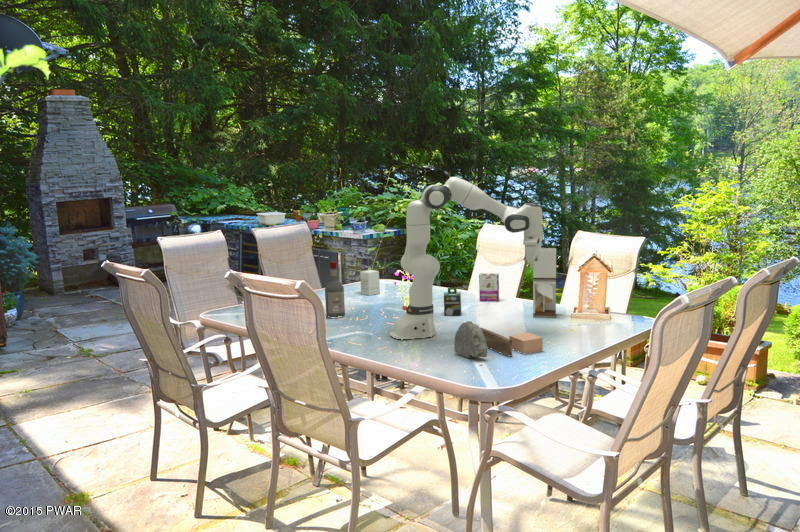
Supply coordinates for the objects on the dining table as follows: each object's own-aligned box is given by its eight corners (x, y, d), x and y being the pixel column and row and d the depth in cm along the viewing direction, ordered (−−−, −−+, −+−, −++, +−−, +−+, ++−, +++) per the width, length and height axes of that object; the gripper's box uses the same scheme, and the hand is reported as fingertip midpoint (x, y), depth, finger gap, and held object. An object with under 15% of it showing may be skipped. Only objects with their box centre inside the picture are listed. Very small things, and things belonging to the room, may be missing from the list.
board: (507, 356, 261) (507, 340, 260) (477, 343, 282) (477, 328, 281) (511, 356, 262) (511, 339, 261) (481, 342, 283) (481, 327, 282)
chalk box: (461, 312, 345) (460, 285, 342) (461, 315, 336) (460, 288, 333) (444, 312, 346) (443, 285, 343) (443, 316, 337) (443, 288, 334)
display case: (533, 317, 327) (533, 251, 322) (533, 313, 337) (533, 248, 332) (555, 318, 324) (556, 251, 319) (555, 313, 334) (556, 248, 329)
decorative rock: (452, 353, 268) (452, 319, 266) (465, 350, 271) (464, 317, 269) (477, 362, 254) (476, 326, 252) (489, 359, 258) (489, 324, 255)
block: (523, 354, 264) (523, 341, 263) (509, 349, 272) (509, 335, 272) (542, 351, 268) (542, 337, 267) (528, 345, 277) (528, 332, 276)
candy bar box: (499, 300, 372) (499, 273, 369) (498, 302, 367) (498, 274, 365) (480, 299, 375) (480, 272, 373) (479, 301, 370) (478, 274, 368)
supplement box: (371, 292, 409) (371, 269, 407) (380, 293, 402) (379, 270, 400) (360, 294, 404) (359, 271, 401) (368, 296, 397) (368, 272, 394)
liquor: (346, 317, 341) (343, 262, 336) (329, 319, 338) (327, 264, 333) (341, 313, 349) (338, 260, 345) (325, 315, 346) (322, 261, 341)
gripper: (530, 230, 307) (531, 257, 311) (522, 242, 289) (523, 271, 294) (543, 230, 305) (544, 257, 309) (536, 243, 287) (536, 271, 291)
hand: (534, 264), depth 301 cm, fingers open, 8 cm apart
